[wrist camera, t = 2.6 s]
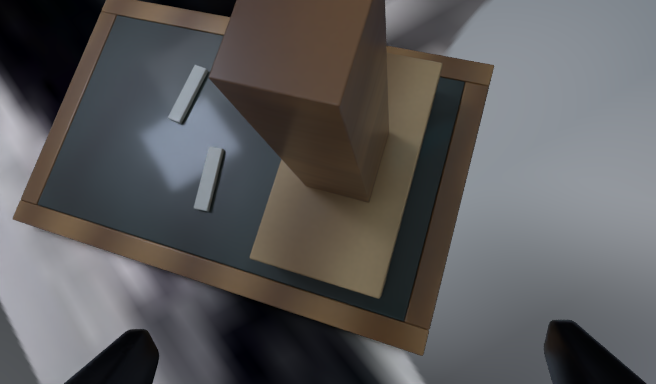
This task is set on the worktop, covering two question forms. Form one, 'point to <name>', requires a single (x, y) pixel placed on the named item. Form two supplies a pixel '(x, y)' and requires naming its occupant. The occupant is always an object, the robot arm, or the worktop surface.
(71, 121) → the chalkboard
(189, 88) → the light grey rectangular bar
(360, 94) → the eraser
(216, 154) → the chalk stick
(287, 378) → the worktop surface
